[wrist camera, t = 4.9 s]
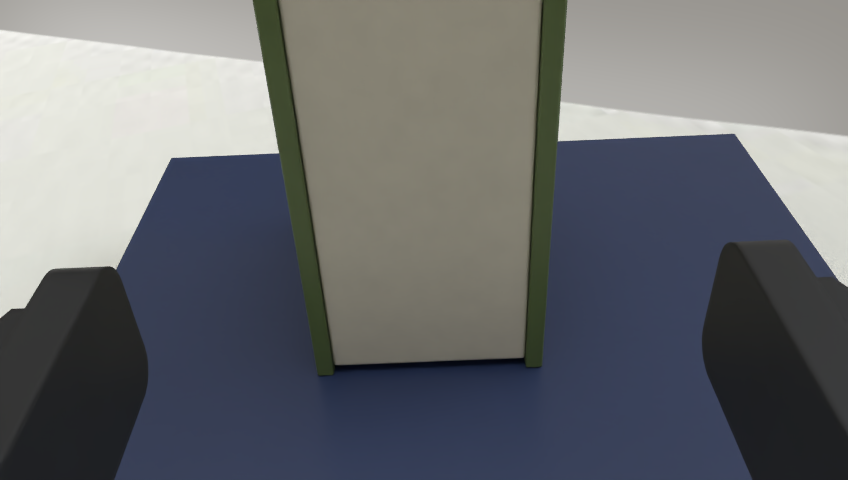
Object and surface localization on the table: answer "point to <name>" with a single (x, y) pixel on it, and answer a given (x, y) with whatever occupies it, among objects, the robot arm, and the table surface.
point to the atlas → (449, 380)
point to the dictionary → (418, 171)
